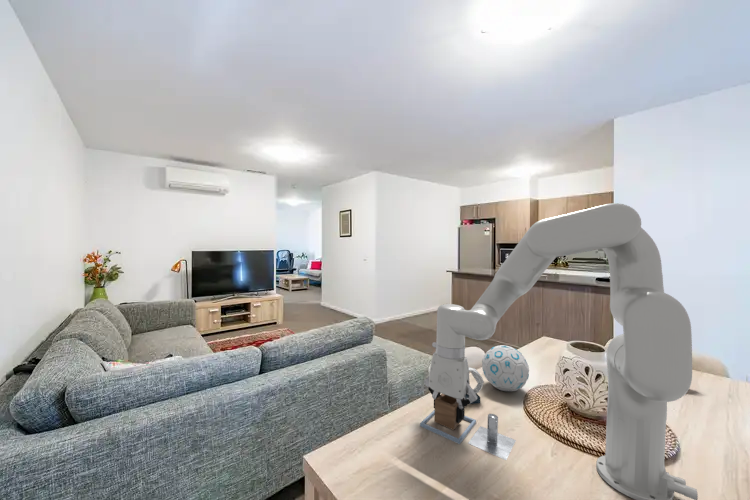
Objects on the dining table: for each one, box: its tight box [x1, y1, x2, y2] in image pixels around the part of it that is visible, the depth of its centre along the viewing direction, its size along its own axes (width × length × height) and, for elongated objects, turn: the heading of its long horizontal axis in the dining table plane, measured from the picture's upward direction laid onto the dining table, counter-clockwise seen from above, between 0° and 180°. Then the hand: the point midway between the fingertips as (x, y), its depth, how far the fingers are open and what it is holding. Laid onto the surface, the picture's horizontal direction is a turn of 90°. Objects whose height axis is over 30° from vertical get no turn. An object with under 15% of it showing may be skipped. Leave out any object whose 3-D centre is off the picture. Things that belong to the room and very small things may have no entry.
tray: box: [419, 409, 477, 445], centre depth 81 cm, size 11×11×2 cm
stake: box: [467, 413, 517, 461], centre depth 74 cm, size 9×9×8 cm
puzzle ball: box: [481, 344, 530, 392], centre depth 104 cm, size 15×15×15 cm
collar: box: [433, 393, 463, 430], centre depth 81 cm, size 6×6×6 cm
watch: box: [465, 366, 485, 405], centre depth 95 cm, size 6×8×11 cm
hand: (448, 415), depth 81 cm, fingers closed on collar, 5 cm apart
